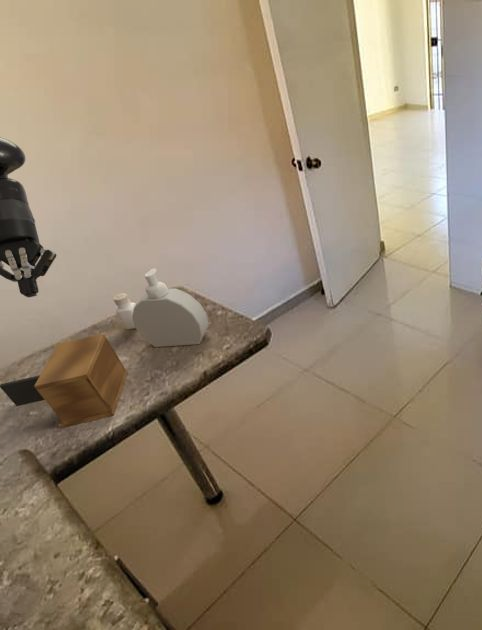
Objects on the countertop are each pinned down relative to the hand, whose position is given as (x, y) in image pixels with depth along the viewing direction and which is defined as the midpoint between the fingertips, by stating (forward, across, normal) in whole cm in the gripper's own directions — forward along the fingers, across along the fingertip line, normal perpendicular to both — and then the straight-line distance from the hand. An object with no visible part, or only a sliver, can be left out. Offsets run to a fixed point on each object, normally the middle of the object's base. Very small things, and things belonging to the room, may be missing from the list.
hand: (30, 295), depth 97 cm
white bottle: (+7, +13, +21) cm, 25 cm away
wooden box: (+26, +7, +1) cm, 27 cm away
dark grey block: (+26, -2, -1) cm, 26 cm away
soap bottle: (+16, +25, +11) cm, 32 cm away
